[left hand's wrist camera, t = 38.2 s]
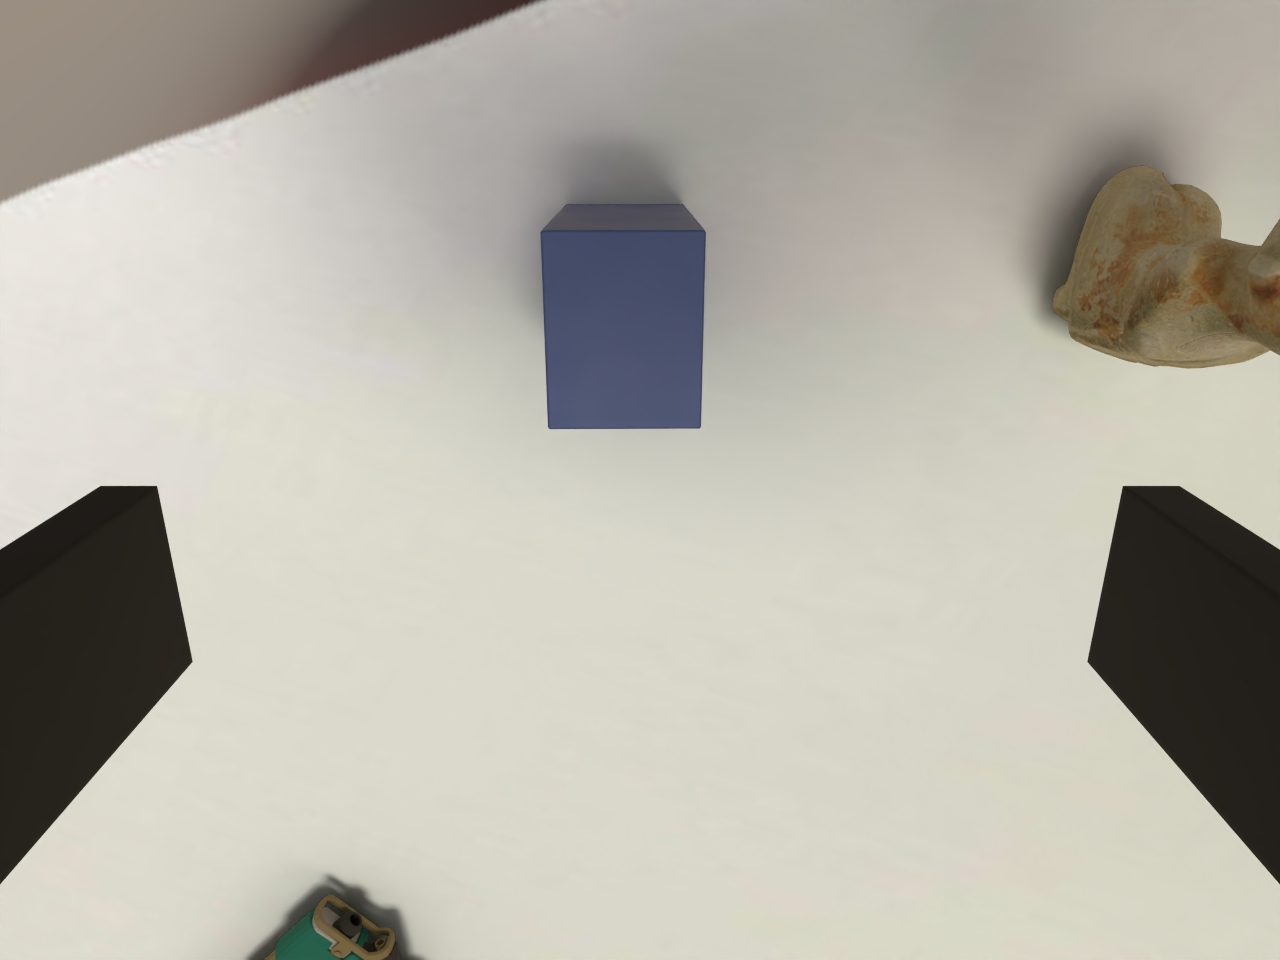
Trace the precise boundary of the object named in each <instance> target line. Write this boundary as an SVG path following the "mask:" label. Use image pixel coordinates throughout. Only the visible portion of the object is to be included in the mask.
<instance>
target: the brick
mask: <svg viewBox="0 0 1280 960" xmlns="http://www.w3.org/2000/svg"><path fill="white" fill-rule="evenodd" d="M705 240H706V232H705V230H704V229H703V228H702V226H701V225H700V224H699V223H698V222H697V220H696V219H695V218H694V217H693V216H692V215H691V213H690V212H689V211H688V210H687V209H686V207H685V206H684V205H683V204H597V205H566V206H565V207H564V208H563V209H562V210H561V211H560V212H559V213H558V214H557V215H556V216H555V217H554V218H553V219H552V220H551V221H550V222H549V223H548V224H547V226H546V227H545V228H544V229H543V230H542V231H541V256H542V281H543V307H544V333H545V359H546V385H547V411H548V428H549V429H670V428H700V427H701V402H702V362H703V321H704V281H705Z"/></svg>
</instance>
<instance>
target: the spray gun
mask: <svg viewBox="0 0 1280 960" xmlns="http://www.w3.org/2000/svg"><path fill="white" fill-rule="evenodd" d="M327 902H328V903H331V904H333V905H334V906H335V907H337V908H338V909H340V910H341V911H342V912H344V914H343V915H342V916H341V917H340V916H338V915H337V914H336V913H334V912H333V911H332V910H330V909H329V908H327V907H324V906H325V904H326V903H327ZM362 926H363V927H365V928H366V929H368V930H369V931H370V932H372V933H373V934H375V935H387V936H389V938H388V940H387V941H386V940H385V939H384V938H380V939H378V940H377V941H376V942H374V943H372V944H371V943H369V938H368V932H367V930H366V929H362ZM264 960H401V956H400V953H399V949H398V945H397V941H396V940H395V935H394V932H393V930H392V929H391V928H387V927H381V928H379V927H377V926H376V925H375V924H373V923H372V922H371V921H369V920H368V919H366V918H365V917H364V916H362V915H361V914H360V913H358V912H357V911H355V910H354V909H353V908H351V907H350V906H349V905H347V904H346V903H344V902H343V901H342V900H340V899H339V898H337V897H336V896H333V895H327V896H325V897H324V898H323V899H322V900H321V901H320V902H319V903H318V905H317V907H316V908H314V909H312V910H311V911H310V912H309V913H308V914H307V915H306V916H304V917H303V918H302V919H301V920H300V921H299V922H298V923H297V924H295V925H294V926H293V927H292V928H291V929H290V930H289V931H287V932H286V933H285V934H284V935H283V936H282V937H281V938H280V939H279V940H278V941H277V944H276V948H275V950H274V951H273V952H272V953H271V954H270V955H268V956H267V957H266V958H265V959H264Z"/></svg>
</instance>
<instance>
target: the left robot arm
mask: <svg viewBox="0 0 1280 960" xmlns="http://www.w3.org/2000/svg"><path fill="white" fill-rule="evenodd" d="M192 662H193V661H192V657H191V652H190V647H189V642H188V637H187V632H186V627H185V622H184V617H183V612H182V607H181V602H180V597H179V592H178V587H177V582H176V578H175V573H174V568H173V563H172V558H171V553H170V548H169V543H168V538H167V533H166V528H165V523H164V518H163V513H162V508H161V503H160V498H159V494H158V489H157V486H100V487H98V488H97V489H95V490H94V491H92V492H91V493H89V494H87V495H86V496H84V497H83V498H81V499H79V500H78V501H76V502H75V503H73V504H72V505H70V506H68V507H67V508H65V509H64V510H62V511H61V512H59V513H57V514H56V515H54V516H53V517H51V518H50V519H48V520H46V521H45V522H43V523H42V524H40V525H38V526H37V527H35V528H34V529H32V530H31V531H29V532H27V533H26V534H24V535H23V536H21V537H20V538H18V539H16V540H15V541H13V542H12V543H10V544H8V545H7V546H5V547H4V548H2V549H1V550H0V884H1V883H2V881H3V880H4V879H5V878H6V877H7V876H8V875H9V873H10V872H11V871H12V870H13V869H14V868H15V866H16V865H17V864H18V863H19V862H20V861H21V859H22V858H23V857H24V856H25V855H26V854H27V853H28V851H29V850H30V849H31V848H32V847H33V846H34V844H35V843H36V842H37V841H38V840H39V839H40V838H41V836H42V835H43V834H44V833H45V832H46V831H47V829H48V828H49V827H50V826H51V825H52V824H53V822H54V821H55V820H56V819H57V818H58V817H59V816H60V814H61V813H62V812H63V811H64V810H65V809H66V807H67V806H68V805H69V804H70V803H71V802H72V801H73V799H74V798H75V797H76V796H77V795H78V794H79V792H80V791H81V790H82V789H83V788H84V787H85V785H86V784H87V783H88V782H89V781H90V780H91V779H92V777H93V776H94V775H95V774H96V773H97V772H98V770H99V769H100V768H101V767H102V766H103V765H104V764H105V762H106V761H107V760H108V759H109V758H110V757H111V755H112V754H113V753H114V752H115V751H116V750H117V748H118V747H119V746H120V745H121V744H122V743H123V742H124V740H125V739H126V738H127V737H128V736H129V735H130V733H131V732H132V731H133V730H134V729H135V728H136V726H137V725H138V724H139V723H140V722H141V721H142V720H143V718H144V717H145V716H146V715H147V714H148V713H149V711H150V710H151V709H152V708H153V707H154V706H155V705H156V703H157V702H158V701H159V700H160V699H161V698H162V696H163V695H164V694H165V693H166V692H167V691H168V689H169V688H170V687H171V686H172V685H173V684H174V683H175V681H176V680H177V679H178V678H179V677H180V676H181V674H182V673H183V672H184V671H185V670H186V669H187V668H188V666H189V665H190V664H191V663H192ZM1087 662H1088V663H1089V664H1090V665H1091V666H1092V668H1093V669H1094V670H1095V671H1096V672H1097V673H1098V674H1099V676H1100V677H1101V678H1102V679H1103V680H1104V681H1105V683H1106V684H1107V685H1108V686H1109V687H1110V688H1111V689H1112V691H1113V692H1114V693H1115V694H1116V695H1117V696H1118V698H1119V699H1120V700H1121V701H1122V702H1123V703H1124V705H1125V706H1126V707H1127V708H1128V709H1129V710H1130V711H1131V713H1132V714H1133V715H1134V716H1135V717H1136V718H1137V720H1138V721H1139V722H1140V723H1141V724H1142V725H1143V726H1144V728H1145V729H1146V730H1147V731H1148V732H1149V733H1150V735H1151V736H1152V737H1153V738H1154V739H1155V740H1156V742H1157V743H1158V744H1159V745H1160V746H1161V747H1162V748H1163V750H1164V751H1165V752H1166V753H1167V754H1168V755H1169V757H1170V758H1171V759H1172V760H1173V761H1174V762H1175V764H1176V765H1177V766H1178V767H1179V768H1180V769H1181V770H1182V772H1183V773H1184V774H1185V775H1186V776H1187V777H1188V779H1189V780H1190V781H1191V782H1192V783H1193V784H1194V785H1195V787H1196V788H1197V789H1198V790H1199V791H1200V792H1201V794H1202V795H1203V796H1204V797H1205V798H1206V799H1207V801H1208V802H1209V803H1210V804H1211V805H1212V806H1213V807H1214V809H1215V810H1216V811H1217V812H1218V813H1219V814H1220V816H1221V817H1222V818H1223V819H1224V820H1225V821H1226V822H1227V824H1228V825H1229V826H1230V827H1231V828H1232V829H1233V831H1234V832H1235V833H1236V834H1237V835H1238V836H1239V838H1240V839H1241V840H1242V841H1243V842H1244V843H1245V844H1246V846H1247V847H1248V848H1249V849H1250V850H1251V851H1252V853H1253V854H1254V855H1255V856H1256V857H1257V858H1258V859H1259V861H1260V862H1261V863H1262V864H1263V865H1264V866H1265V868H1266V869H1267V870H1268V871H1269V872H1270V873H1271V875H1272V876H1273V877H1274V878H1275V879H1276V880H1277V881H1278V883H1279V884H1280V550H1279V549H1278V548H1276V547H1275V546H1273V545H1272V544H1270V543H1268V542H1267V541H1265V540H1264V539H1262V538H1260V537H1259V536H1257V535H1256V534H1254V533H1253V532H1251V531H1249V530H1248V529H1246V528H1245V527H1243V526H1242V525H1240V524H1238V523H1237V522H1235V521H1234V520H1232V519H1230V518H1229V517H1227V516H1226V515H1224V514H1223V513H1221V512H1219V511H1218V510H1216V509H1215V508H1213V507H1212V506H1210V505H1208V504H1207V503H1205V502H1204V501H1202V500H1201V499H1199V498H1197V497H1196V496H1194V495H1193V494H1191V493H1189V492H1188V491H1186V490H1185V489H1183V488H1182V487H1180V486H1123V489H1122V494H1121V499H1120V503H1119V508H1118V513H1117V518H1116V523H1115V528H1114V533H1113V538H1112V543H1111V548H1110V553H1109V558H1108V563H1107V568H1106V573H1105V578H1104V582H1103V587H1102V592H1101V597H1100V602H1099V607H1098V612H1097V617H1096V622H1095V627H1094V632H1093V637H1092V642H1091V647H1090V652H1089V657H1088V661H1087Z"/></svg>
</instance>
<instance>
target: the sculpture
mask: <svg viewBox="0 0 1280 960" xmlns="http://www.w3.org/2000/svg"><path fill="white" fill-rule="evenodd" d="M1053 310H1054V312H1055V313H1056V314H1057V315H1059V316H1060V317H1061V318H1063V319H1065V320H1067V321H1069V333H1070V335H1071V337H1072V338H1073V339H1074V340H1075V341H1077V342H1079V343H1082V344H1084V345H1086V346H1088V347H1090V348H1092V349H1095V350H1097V351H1099V352H1102V353H1105V354H1108V355H1111V356H1114V357H1117V358H1120V359H1123V360H1126V361H1129V362H1135V363H1136V362H1138V363H1142V364H1146V365H1150V366H1172V367H1180V368H1204V367H1212V366H1219V365H1227V364H1234V363H1240V362H1245V361H1247V360H1250V359H1253V358H1255V357H1257V356H1259V355H1262V354H1264V353H1266V352H1268V351H1270V350H1271V351H1273V352H1275V353H1277V354H1278V355H1280V219H1279V221H1278V222H1277V224H1276V225H1275V226H1274V228H1273V229H1272V231H1271V232H1270V234H1269V236H1268V237H1267V239H1266V240H1265V242H1264V243H1263V244H1262V245H1261V246H1253V245H1247V244H1242V243H1238V242H1234V241H1231V240H1227V239H1222V238H1221V213H1220V210H1219V207H1218V205H1217V204H1216V203H1215V202H1214V200H1213V199H1212V198H1211V197H1210V196H1209V195H1208V194H1207V193H1205V192H1203V191H1202V190H1200V189H1198V188H1196V187H1194V186H1192V185H1183V184H1174V185H1172V186H1170V184H1169V183H1168V182H1167V180H1166V178H1165V176H1164V175H1163V173H1162V172H1160V171H1158V170H1154V169H1152V168H1149V167H1146V166H1136V167H1131V168H1127V169H1124V170H1122V171H1120V172H1119V173H1117V174H1116V175H1115V176H1114V177H1112V178H1111V179H1110V180H1109V181H1108V182H1107V183H1106V184H1105V185H1104V186H1103V187H1102V189H1101V190H1100V191H1099V193H1098V194H1097V196H1096V198H1095V200H1094V202H1093V204H1092V206H1091V208H1090V210H1089V213H1088V215H1087V218H1086V220H1085V223H1084V227H1083V230H1082V233H1081V236H1080V239H1079V242H1078V245H1077V249H1076V252H1075V256H1074V261H1073V264H1072V268H1071V271H1070V274H1069V277H1068V279H1067V282H1066V283H1065V285H1062V286H1060V287H1059V288H1058V289H1057V290H1056V292H1055V295H1054V298H1053Z"/></svg>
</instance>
